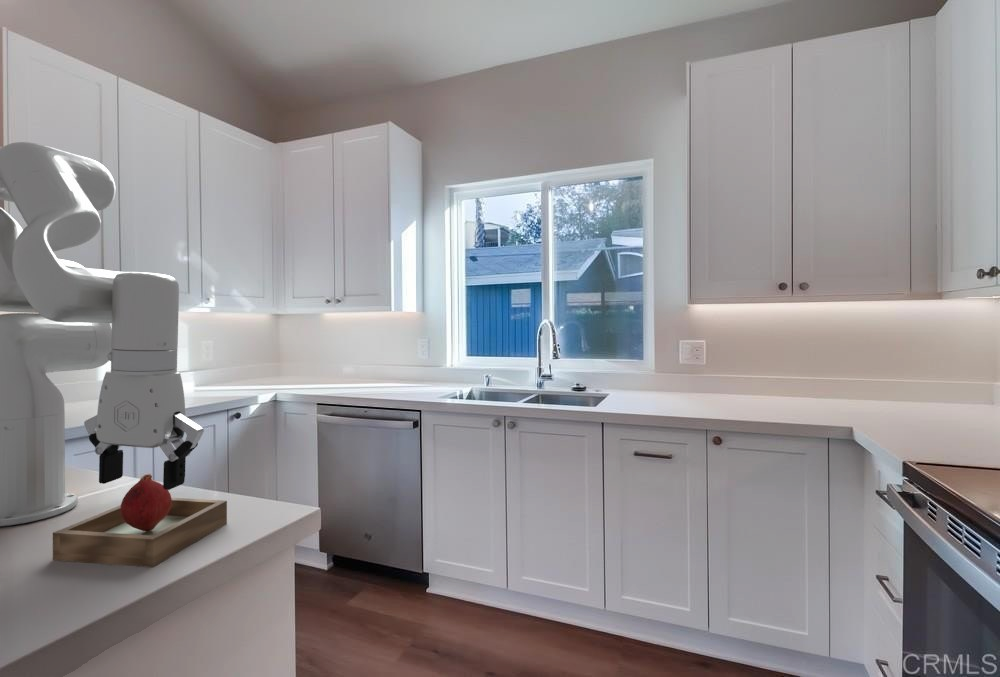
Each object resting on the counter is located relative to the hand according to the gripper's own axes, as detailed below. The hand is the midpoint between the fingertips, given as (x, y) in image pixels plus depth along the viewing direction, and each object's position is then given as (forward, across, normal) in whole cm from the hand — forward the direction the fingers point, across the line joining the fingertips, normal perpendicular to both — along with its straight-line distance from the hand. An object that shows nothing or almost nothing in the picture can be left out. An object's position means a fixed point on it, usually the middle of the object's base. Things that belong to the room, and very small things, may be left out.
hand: (142, 483), depth 70 cm
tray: (+8, +1, 0) cm, 8 cm away
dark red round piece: (+7, +1, 0) cm, 7 cm away
